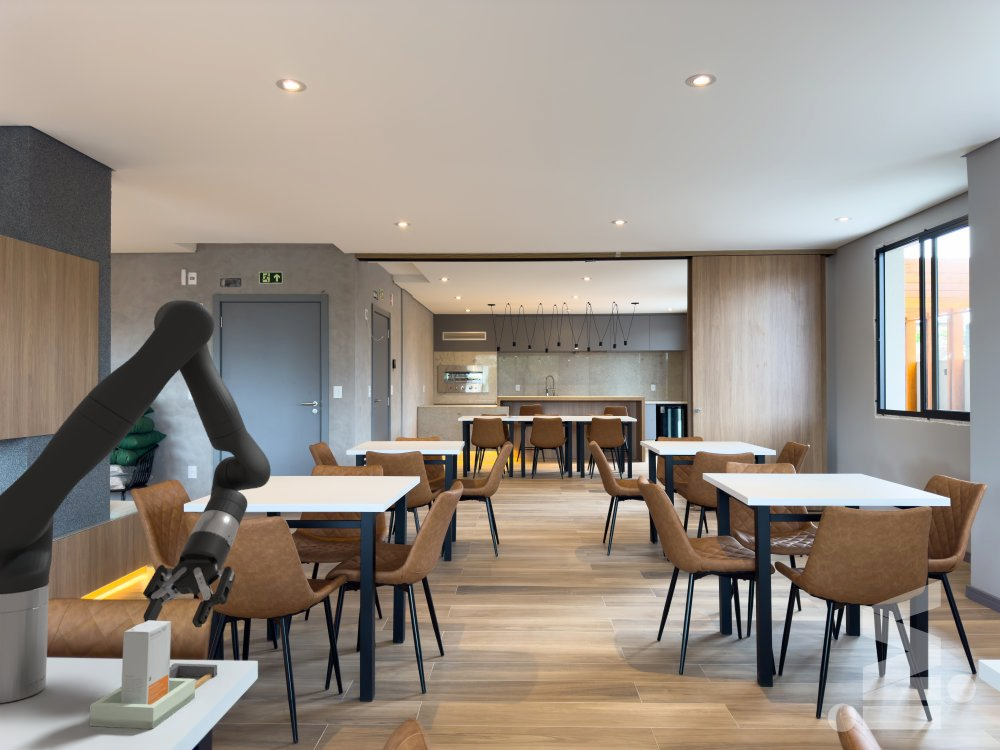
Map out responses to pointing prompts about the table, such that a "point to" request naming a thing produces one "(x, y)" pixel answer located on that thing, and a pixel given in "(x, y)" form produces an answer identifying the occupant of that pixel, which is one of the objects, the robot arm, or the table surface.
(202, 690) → the table surface
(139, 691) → the skincare box
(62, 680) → the table surface
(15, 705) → the table surface
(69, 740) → the table surface
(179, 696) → the parts tray
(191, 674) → the grey shallow square tray
